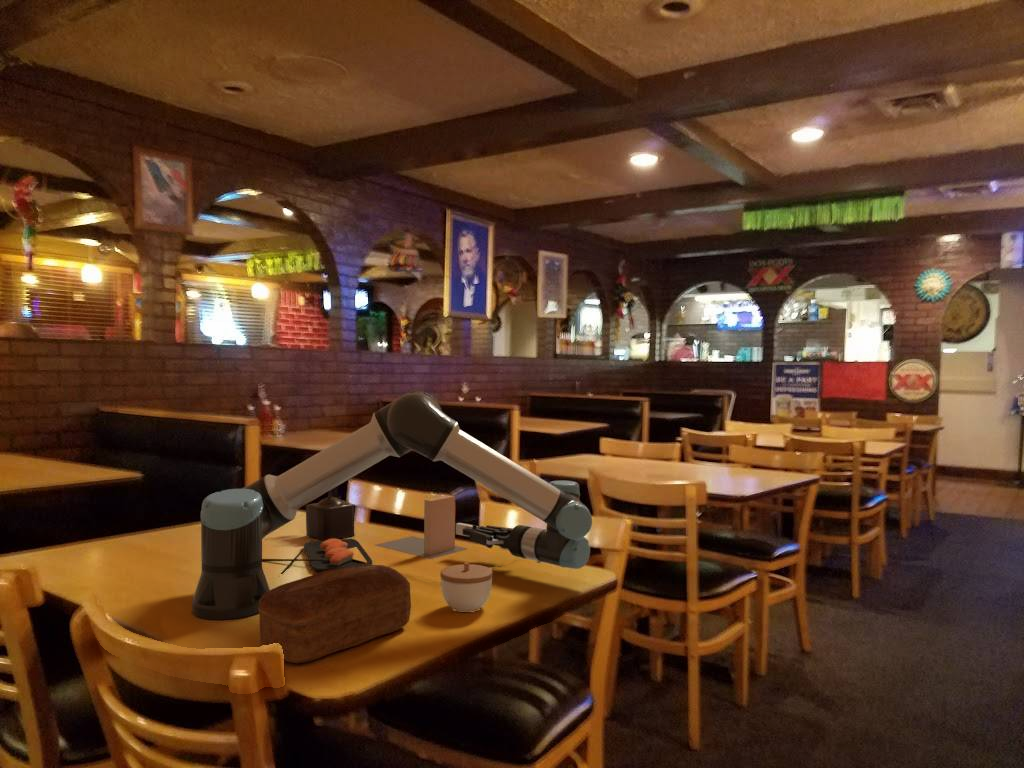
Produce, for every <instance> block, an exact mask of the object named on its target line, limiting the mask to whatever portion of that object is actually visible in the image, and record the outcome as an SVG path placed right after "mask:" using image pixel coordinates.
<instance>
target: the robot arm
mask: <svg viewBox="0 0 1024 768" xmlns="http://www.w3.org/2000/svg"><path fill="white" fill-rule="evenodd" d="M411 451H413V452H415V453H418V454H419V455H421V456H423V457H425V458H427V459H428V460H430V461H431V462H438V461H442V462H443V463H445V464H446V465H448V466H450V467H451V468H453V469H455V470H457V471H458V472H460V473H461V474H464V475H466V476H467V477H469V478H470V479H472V480H474V481H475V482H477V483H479V484H480V485H482V486H484V487H485V488H487V489H488V490H490V491H492V492H494V493H495V494H497V495H499V496H500V497H502V498H503V499H505V500H507V501H509V502H511V503H513V504H514V505H516V506H517V507H519V508H520V509H523V510H524V511H526V512H527V513H530V514H531V515H532V516H534V517H535V518H538V519H539V520H541V521H542V522H544V523H545V524H546V529H545V528H541V527H535V526H528V525H524V524H522V525H521V524H518V525H516V526H514V527H513V528H512V527H505V526H504V527H503V526H495V525H494V526H493V525H489V524H488V525H486V526H483V525H481V526H478V525H475V524H469V523H462V522H457V523H455V535H459V536H464V537H467V538H469V541H470V542H474V543H477V544H480V545H482V546H485V547H487V548H488V549H492V548H493V547H494V546H497V547H500V548H502V549H508V551H509V553H510V554H511V555H512V556H513V557H516V558H522V559H528V560H531V561H536V563H537V564H541V563H545V564H550V565H554V566H558V567H561V568H563V569H565V568H567V569H573V570H575V569H576V570H578V569H579V570H580V569H581V568H583V567H585V566H586V564H587V563H588V561H589V558H590V556H591V555H590V554H591V546H590V543H589V540H588V538H587V537H586V536H587V535H588V534H589V532H590V531H591V529H592V525H593V518H592V514H591V512H590V509H589V508H588V507H587V505H585V504H584V503H583V502H582V501H581V500H580V496H581V493H580V484H579V483H578V482H576V481H573V480H553V481H549V482H547V481H546V480H545V479H542V478H541V477H539V476H538V475H536V474H534V473H533V472H531V471H530V470H528V469H526V468H525V467H523V466H521V465H519V464H518V463H516V461H515V462H514V461H513V460H511V459H510V458H508V457H506V456H504V455H503V454H501V452H498V451H496V450H494V449H493V448H491V447H490V446H488V445H486V443H483V442H482V441H480V440H478V439H477V438H475V437H473V436H472V435H470V434H469V433H467V432H466V431H463V430H462V429H461V428H460V426H459V423H458V421H456V420H454V418H451V417H450V416H448V415H447V414H446V413H444V412H443V410H442V407H441V406H440V403H439V402H438V401H437V399H436V398H435V397H434V396H432V395H431V394H429V393H428V392H425V391H420V390H414V391H408V392H406V393H404V394H402V395H401V396H399V397H398V398H397V399H395V400H393V401H392V402H389V403H388V404H386V405H385V406H383V407H381V408H380V409H378V410H376V411H374V412H373V414H372V417H371V420H370V421H369V423H368V424H367V423H366V424H365V425H364V426H362V427H360V428H359V429H357V430H355V431H353V432H351V433H350V434H348V435H346V436H345V437H343V438H342V439H339V440H338V441H336V442H334V443H333V444H331V445H329V446H328V447H325V448H324V449H323V450H320V451H319V452H317V453H315V454H314V455H312V456H310V457H309V458H307V459H306V460H303V461H302V462H301V463H298V464H297V465H295V466H293V467H292V468H290V469H288V470H287V471H285V472H283V473H281V474H279V475H272V474H266V475H264V476H263V477H261V478H259V479H258V480H256V481H254V482H252V483H250V484H248V485H246V486H244V487H242V488H231V489H228V488H227V489H224V490H221V491H216V492H214V493H211V494H208V495H207V496H206V497H205V498H204V499H203V501H202V503H201V510H200V514H199V515H200V530H201V531H200V532H201V534H200V541H201V553H200V555H201V560H200V561H201V570H200V571H201V573H200V576H199V580H198V582H197V585H196V588H195V590H194V591H195V592H194V594H193V597H192V601H191V613H192V614H193V615H194V616H196V617H198V618H201V619H207V620H231V619H240V618H245V617H250V616H254V615H257V614H259V600H260V598H261V597H262V595H264V594H265V593H266V592H268V591H270V590H271V589H270V587H269V584H268V581H267V578H266V575H265V572H264V569H263V561H262V559H263V539H264V538H265V537H267V536H268V535H269V534H271V533H273V532H275V531H276V530H278V529H279V528H281V527H283V526H285V525H286V524H289V523H290V522H292V521H293V520H295V519H296V514H297V511H298V510H299V509H300V508H302V507H303V506H306V505H308V503H309V504H310V503H311V502H313V501H314V500H316V499H317V498H319V497H321V496H323V495H324V494H326V493H327V492H328V491H330V490H331V491H332V490H333V489H335V488H336V487H338V486H340V485H341V484H343V483H345V482H346V481H348V480H350V479H352V478H353V477H355V476H357V475H358V474H360V473H362V472H364V471H365V470H367V469H369V468H370V467H372V466H374V465H376V464H378V463H379V462H381V461H382V460H384V459H386V458H387V457H389V456H390V457H391V456H392V457H397V458H400V457H402V456H404V455H406V454H408V453H409V452H411Z"/></svg>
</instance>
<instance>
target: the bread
mask: <svg viewBox="0 0 1024 768" xmlns="http://www.w3.org/2000/svg"><path fill="white" fill-rule="evenodd" d="M411 609H412V600H411V583H410V581H409V580H408V579H407V577H406V576H404V575H403V574H402V573H401V572H399V571H398V570H396V569H394V568H392V567H390V566H386V565H382V564H372V565H368V564H365V565H361V566H350V567H344V568H338V569H331V570H323V571H320V572H319V573H316V574H312V575H308V576H306V577H303V578H299V579H296V580H293V581H290V582H287V583H283V584H280V585H278V586H275V587H274V588H271V589H270V591H268V592H266V593H265V594H264V595H262V597H261V598H260V600H259V613H258V615H259V634H260V635H259V636H260V647H261V646H262V645H269V644H273V643H279V644H280V645H281V646H282V649H283V654H284V660H285V661H284V662H287V663H290V664H291V663H292V664H301V663H308V662H311V661H315V660H317V659H318V660H319V659H320V658H322V657H325V656H327V655H330V654H333V653H335V652H339V651H341V650H345V649H349V648H351V647H355V646H359V645H361V644H363V643H365V642H367V641H370V640H373V639H375V638H377V637H380V636H385V635H386V634H390V633H391V634H392V633H394V632H396V631H398V630H401V629H402V628H403V627H405V626H406V625H407V624H408V623H409V621H410V616H411Z"/></svg>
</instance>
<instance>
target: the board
mask: <svg viewBox="0 0 1024 768" xmlns="http://www.w3.org/2000/svg"><path fill="white" fill-rule="evenodd" d="M375 546H376V547H381V548H385V549H389V550H393V551H398V552H401V553H405V554H409V555H413V556H418V557H422V558H426V559H430V560H433V559H436V558H440V557H443V556H446V555H447V556H448V555H451V554H455V553H458V552H459V553H460V552H461V551H462V552H463V551H465V550H468V549H469V548H468V547H463V546H459V545H455V549H451V550H448V551H444V552H440V553H436V554H432V555H428V554H424V537H423V538H422V537H419V536H413V535H411V536H407V537H402V538H398V539H394V540H389V541H385V542H381V543H377V544H375Z"/></svg>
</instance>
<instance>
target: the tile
mask: <svg viewBox="0 0 1024 768" xmlns="http://www.w3.org/2000/svg"><path fill="white" fill-rule="evenodd" d="M423 501H424V502H423V503H424V507H423V508H424V510H423V511H424V513H423V514H424V517H423V520H424V521H423V522H424V523H423V524H424V525H423V527H424V528H423V529H424V530H423V531H424V532H423V539H424V554H428V555H432V554H436V553H440V552H444V551H448V550H451V549H455V546H456V545H455V543H456V496H453V495H445V496H438V497H433V498H432V497H431V498H428V499H424V500H423Z"/></svg>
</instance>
